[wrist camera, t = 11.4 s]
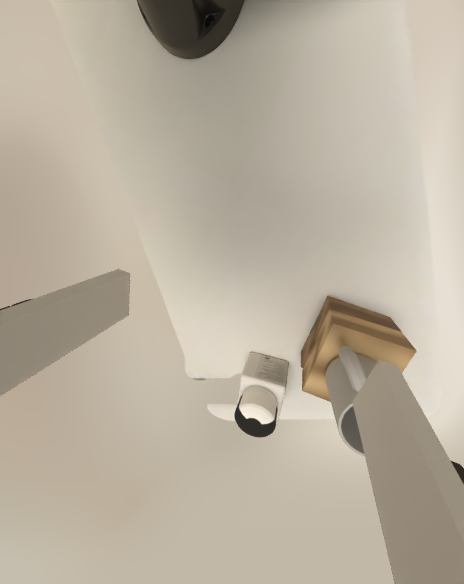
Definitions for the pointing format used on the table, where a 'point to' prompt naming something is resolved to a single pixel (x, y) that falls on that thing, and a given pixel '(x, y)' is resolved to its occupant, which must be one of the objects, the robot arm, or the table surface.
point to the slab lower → (346, 309)
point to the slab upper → (360, 339)
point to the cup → (347, 392)
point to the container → (261, 394)
